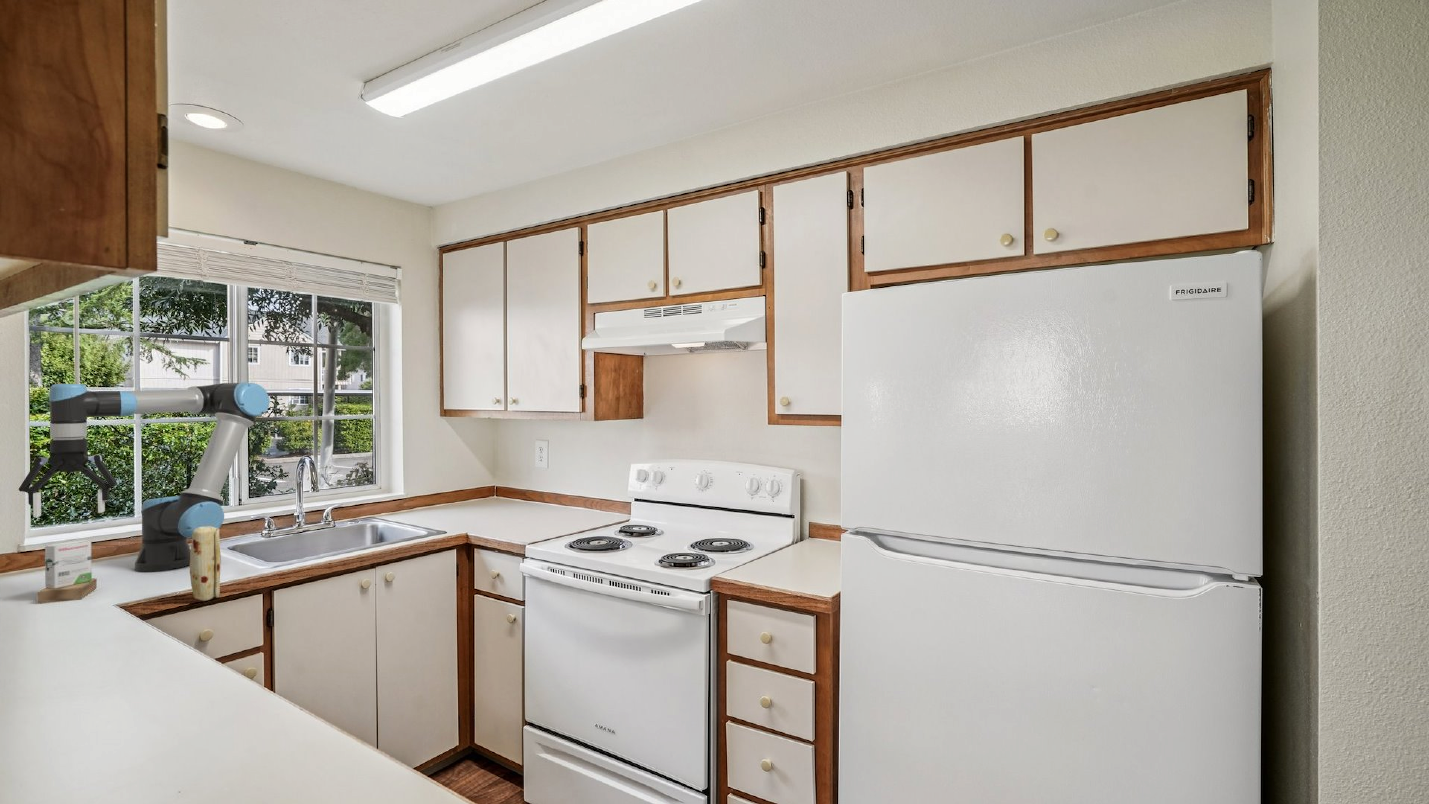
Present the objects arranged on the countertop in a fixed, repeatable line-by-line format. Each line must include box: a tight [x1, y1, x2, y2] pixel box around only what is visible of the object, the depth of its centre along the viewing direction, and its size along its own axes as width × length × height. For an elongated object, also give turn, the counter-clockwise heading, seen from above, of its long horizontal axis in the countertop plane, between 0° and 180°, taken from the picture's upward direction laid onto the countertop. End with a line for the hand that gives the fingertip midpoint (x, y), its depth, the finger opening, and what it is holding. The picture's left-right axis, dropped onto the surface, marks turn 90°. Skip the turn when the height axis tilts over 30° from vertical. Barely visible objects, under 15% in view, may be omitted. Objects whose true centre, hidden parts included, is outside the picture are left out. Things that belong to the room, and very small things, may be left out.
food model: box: [189, 526, 222, 603], centre depth 186 cm, size 10×7×20 cm
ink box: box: [44, 539, 93, 589], centre depth 190 cm, size 9×5×12 cm, turn 159°
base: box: [37, 577, 98, 605], centre depth 190 cm, size 9×12×3 cm
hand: (69, 514), depth 191 cm, fingers open, 13 cm apart
